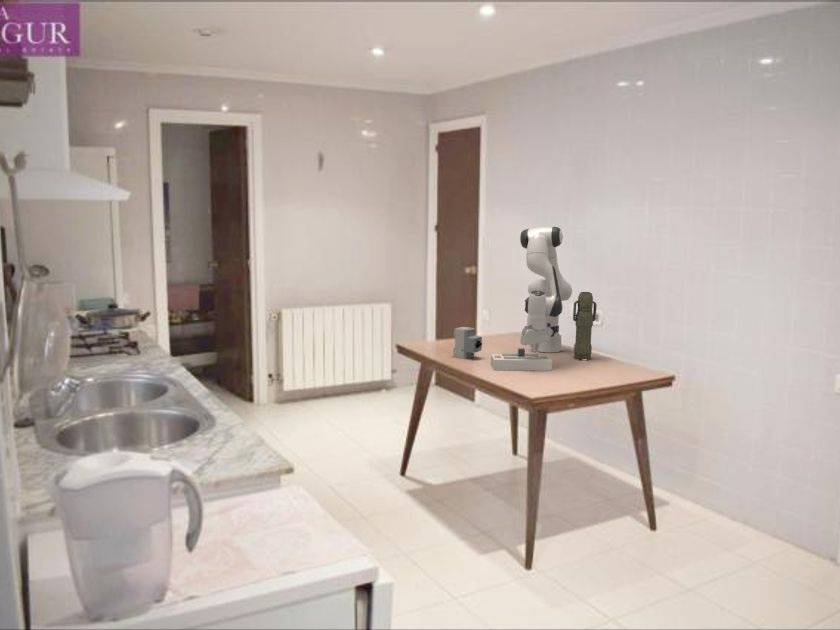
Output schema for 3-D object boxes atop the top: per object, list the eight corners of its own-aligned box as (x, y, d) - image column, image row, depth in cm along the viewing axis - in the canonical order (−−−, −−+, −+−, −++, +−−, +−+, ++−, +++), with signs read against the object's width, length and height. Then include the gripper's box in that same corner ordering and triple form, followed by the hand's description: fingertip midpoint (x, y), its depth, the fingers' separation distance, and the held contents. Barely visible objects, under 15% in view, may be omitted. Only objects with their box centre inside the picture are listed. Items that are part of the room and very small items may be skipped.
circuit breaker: (476, 360, 369) (477, 331, 367) (453, 356, 378) (453, 328, 375) (484, 358, 375) (484, 329, 373) (461, 354, 383) (462, 326, 381)
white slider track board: (490, 364, 362) (491, 352, 361) (546, 364, 362) (547, 353, 361) (493, 369, 349) (494, 357, 348) (551, 370, 349) (552, 358, 348)
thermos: (596, 359, 376) (600, 293, 371) (575, 360, 373) (579, 293, 368) (588, 356, 385) (592, 291, 379) (568, 357, 382) (571, 291, 377)
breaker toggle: (517, 356, 356) (517, 348, 355) (523, 356, 356) (523, 348, 355) (518, 357, 353) (518, 349, 352) (524, 357, 353) (524, 349, 352)
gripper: (528, 327, 343) (527, 355, 345) (553, 323, 357) (552, 350, 359) (517, 325, 347) (516, 353, 349) (543, 321, 361) (541, 348, 363)
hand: (534, 352), depth 354 cm, fingers closed
